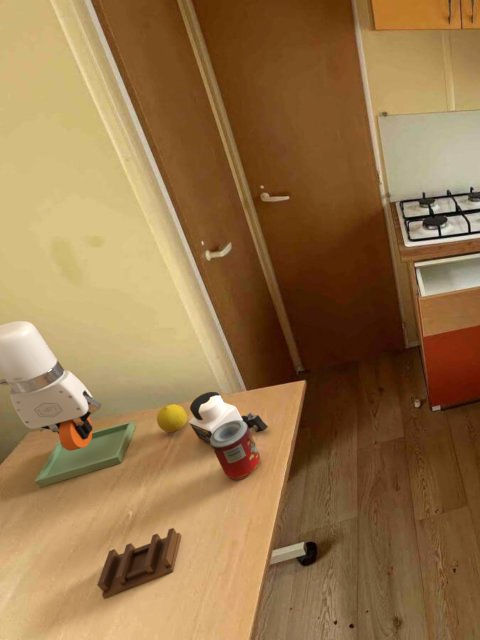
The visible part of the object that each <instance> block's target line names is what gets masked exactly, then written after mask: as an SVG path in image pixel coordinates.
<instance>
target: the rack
mask: <svg viewBox="0 0 480 640" xmlns="http://www.w3.org/2000/svg"><path fill="white" fill-rule="evenodd" d="M181 537H182V535H181V532H177V531H176V529H175V528H174V527H172V528H169V529H168V531H167V535H166V536H165V537H163V538H161V537H160V535H159V533H155V534H152V536H151V539H150V543H146V544H145V545H142V546H139V547H135V546H134V544H133V543H132V542H130V543H127V544H126V545H125V547H124V551H123V552H122V553H118V551H117V549H115V548H113V549H111V550H109V551H108V553H107V555H106V559H105V561H104V565H103V568H102V570H101V573H100V576H99V578H98V581H97V584H96V585H97V586H98V588H99V589H100V590H101V591H102V594H101V597H102V598H103V599H107V598H110V597H112V596H115V595H117V594H120V593H121V592H122V593H123V592H124V591H128V590H130V589H131V588H132V589H133V588H135V587H138V586H140V585H142V584H146V583H147V582H150V581H152V580H156V579H159V578H160V577H163V576H166V575H169V574H171V573H173V572H174V569H175V566H176V561H177V555H178V551H179V547H180V543H181Z"/></svg>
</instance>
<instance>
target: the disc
mask: <svg viewBox="0 0 480 640" xmlns="http://www.w3.org/2000/svg"><path fill="white" fill-rule="evenodd" d="M87 420H88V421H89V423H90V424H91V426H92V427H93V423H92V421H91V418H90V416H89V417H88V418H87ZM75 427H76V424H75V422H74V421H73V420H72V419H71V420H67V421H63V422H61V423H60V427H59V434H58V437H59V441H61V444H62V445H63V447H64V448H65V449H66V450H69V451H73V450H77V449H80V448H83V447H86V446H87V445H88V444H89V443H90V441H91V438H92V432H94V431H93V430H94V429H93V428H92V431H91V432H90V434H89V436H88V438H87V439H82V437H81V436H80V435H79V433H78V432H77V430H76V429H75Z"/></svg>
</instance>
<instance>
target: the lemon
mask: <svg viewBox="0 0 480 640" xmlns="http://www.w3.org/2000/svg"><path fill="white" fill-rule="evenodd" d="M187 421H188V414H187V411H186V410H185V409H184V407H182V406H181V405H179V404H175V403H172V404H168V405H165V406H163V407H162V408H161V409H160V410H159V411H158V413H157V415H156V422H157V425H158V427H159V428H160V429H161V430H162V431H164V432H166V433H174V432H177V431H180V430H181V429H183V428H184V426H185V425H186V423H187Z"/></svg>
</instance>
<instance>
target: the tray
mask: <svg viewBox="0 0 480 640" xmlns="http://www.w3.org/2000/svg"><path fill="white" fill-rule="evenodd" d="M135 430H136V425H135V423H134V421H133V420H130V421H127V422H124V423H119V424H116V425H112V426H108V427H105V428H101V429H98V430H94V431H93V432H92V438H91V441H90V443H89V444H88V445H87V446H86V447H83V448H80V449H77V450H73V451H69V450H66V449H65V448H64V447H63V445H62V444H61V441H60V440H58V441H57V442H56V444H55V446H54V447H53V449H52V451H51V452H50V454H49V456H48V458H47V459H46V461H45V462H44V465H43V467H42V468H41V470H40V472H39V473H38V475H37V477H36V478H35V480H34V482H35V483H36V485H37V486H38V487H39V488H42V487H46V486H50V485H51V484H55V483H59V482H63V481H66V480H69V479H73V478H76V477H79V476H83V475H85V474H89V473H92V472H95V471H99V470H102V469H105V468H109V467H112V466H115V465H119V464H121V463H122V462H123V461H124V457H125V455H126V453H127V449H128V447H129V445H130V443H131V439H132V438H133V435H134V432H135Z"/></svg>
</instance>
